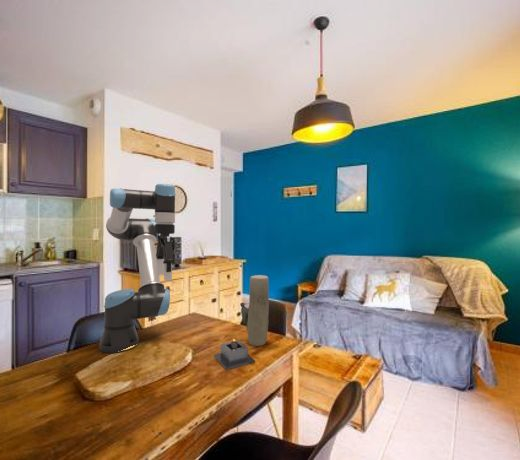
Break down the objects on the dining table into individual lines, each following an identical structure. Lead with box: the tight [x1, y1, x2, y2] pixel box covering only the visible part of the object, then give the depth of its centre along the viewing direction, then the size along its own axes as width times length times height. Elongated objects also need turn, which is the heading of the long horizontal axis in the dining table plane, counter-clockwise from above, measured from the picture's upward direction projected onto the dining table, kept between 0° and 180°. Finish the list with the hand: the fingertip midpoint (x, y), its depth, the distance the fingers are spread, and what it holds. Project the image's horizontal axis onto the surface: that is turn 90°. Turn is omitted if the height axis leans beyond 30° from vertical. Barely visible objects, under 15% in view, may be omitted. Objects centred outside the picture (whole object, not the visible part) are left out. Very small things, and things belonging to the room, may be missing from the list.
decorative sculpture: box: [239, 274, 270, 347], centre depth 128 cm, size 14×10×30 cm
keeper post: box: [213, 337, 256, 371], centre depth 111 cm, size 12×12×8 cm
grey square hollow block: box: [220, 339, 249, 364], centre depth 111 cm, size 8×8×4 cm
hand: (164, 277), depth 111 cm, fingers open, 13 cm apart
